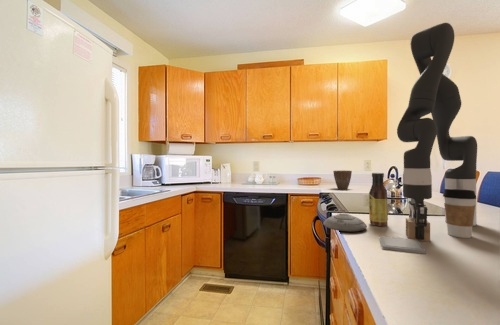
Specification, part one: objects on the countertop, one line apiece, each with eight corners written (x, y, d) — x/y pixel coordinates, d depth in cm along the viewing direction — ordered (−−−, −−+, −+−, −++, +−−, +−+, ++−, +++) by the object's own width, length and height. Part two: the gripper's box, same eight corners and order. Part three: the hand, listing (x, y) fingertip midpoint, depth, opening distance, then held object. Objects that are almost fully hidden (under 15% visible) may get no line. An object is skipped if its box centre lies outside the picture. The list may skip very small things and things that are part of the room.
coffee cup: (437, 233, 84) (436, 188, 84) (453, 230, 87) (453, 187, 87) (466, 240, 76) (465, 191, 76) (483, 237, 79) (482, 189, 79)
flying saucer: (348, 237, 82) (348, 220, 82) (314, 227, 95) (314, 212, 95) (376, 230, 89) (375, 214, 89) (341, 221, 102) (341, 208, 102)
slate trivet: (379, 238, 79) (379, 235, 79) (417, 242, 75) (417, 239, 75) (382, 249, 70) (382, 245, 70) (425, 253, 66) (425, 250, 66)
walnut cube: (405, 234, 83) (405, 218, 83) (425, 236, 80) (425, 219, 80) (408, 239, 77) (408, 221, 77) (430, 241, 75) (430, 223, 75)
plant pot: (353, 190, 205) (353, 171, 205) (334, 190, 209) (334, 171, 209) (350, 188, 220) (350, 170, 220) (332, 188, 223) (332, 170, 223)
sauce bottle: (371, 221, 100) (371, 172, 100) (389, 224, 96) (388, 172, 96) (367, 225, 95) (366, 172, 95) (385, 227, 91) (385, 173, 91)
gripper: (438, 185, 71) (438, 245, 71) (425, 181, 84) (426, 231, 84) (407, 184, 74) (407, 241, 74) (399, 180, 87) (400, 229, 87)
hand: (417, 236), depth 79 cm, fingers closed on walnut cube, 5 cm apart
